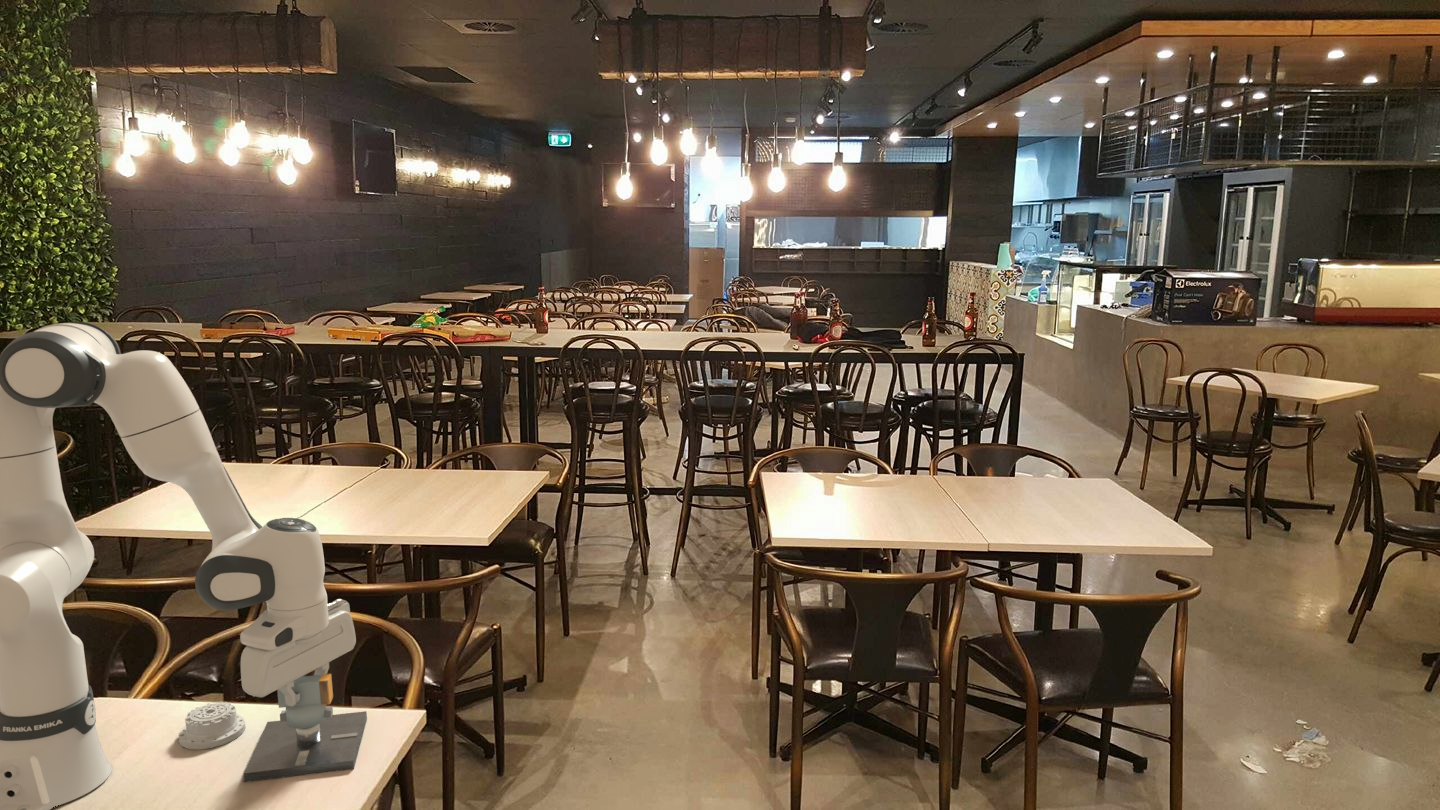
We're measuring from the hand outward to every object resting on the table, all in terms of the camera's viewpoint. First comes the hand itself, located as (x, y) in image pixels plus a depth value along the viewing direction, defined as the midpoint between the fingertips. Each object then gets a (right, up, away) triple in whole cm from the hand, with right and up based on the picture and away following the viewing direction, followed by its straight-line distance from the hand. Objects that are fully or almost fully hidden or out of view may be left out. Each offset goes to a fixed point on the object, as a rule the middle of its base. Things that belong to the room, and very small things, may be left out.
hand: (305, 697), depth 152 cm
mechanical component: (-18, -9, +6) cm, 21 cm away
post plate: (0, -9, +2) cm, 9 cm away
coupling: (0, -4, +1) cm, 4 cm away
